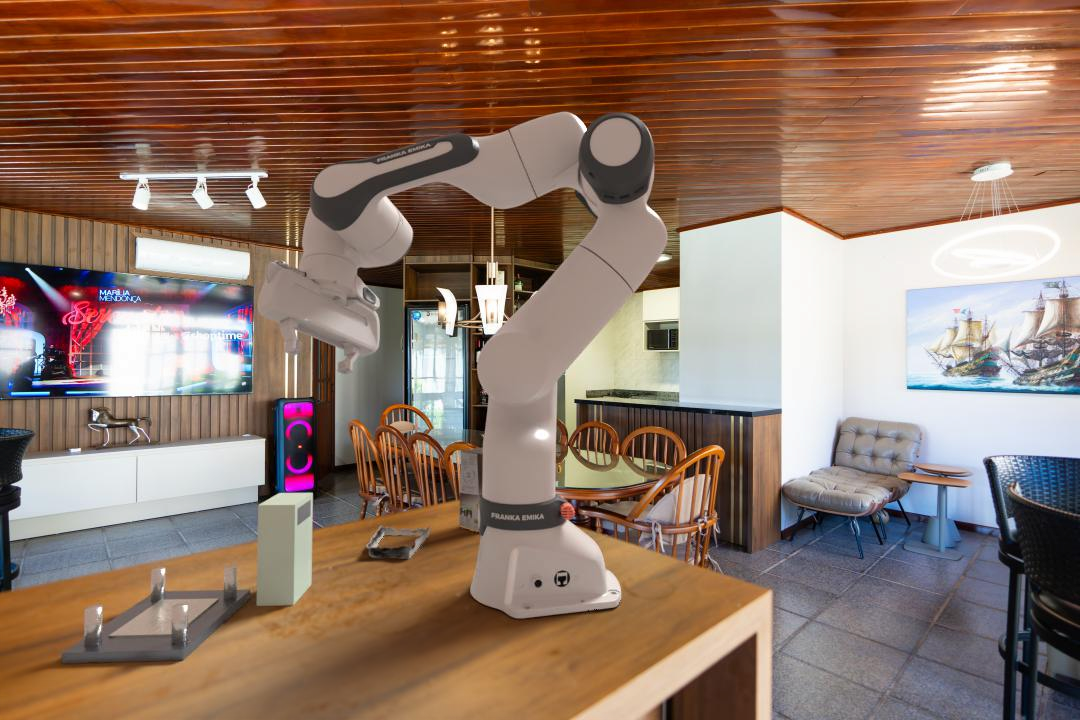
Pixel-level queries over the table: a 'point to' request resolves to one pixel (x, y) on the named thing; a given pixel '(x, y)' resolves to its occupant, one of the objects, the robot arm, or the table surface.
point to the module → (284, 548)
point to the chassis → (158, 623)
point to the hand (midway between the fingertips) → (319, 363)
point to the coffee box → (470, 487)
